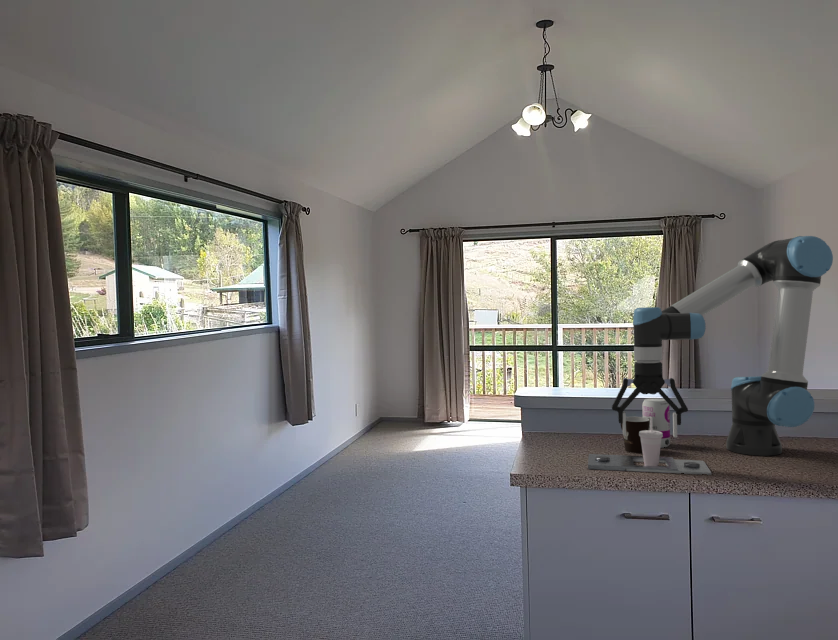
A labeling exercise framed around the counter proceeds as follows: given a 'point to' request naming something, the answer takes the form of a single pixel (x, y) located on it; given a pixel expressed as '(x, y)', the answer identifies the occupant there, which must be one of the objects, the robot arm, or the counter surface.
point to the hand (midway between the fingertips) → (649, 435)
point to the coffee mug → (634, 433)
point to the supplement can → (658, 417)
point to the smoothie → (651, 445)
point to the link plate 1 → (626, 463)
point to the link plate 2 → (681, 467)
